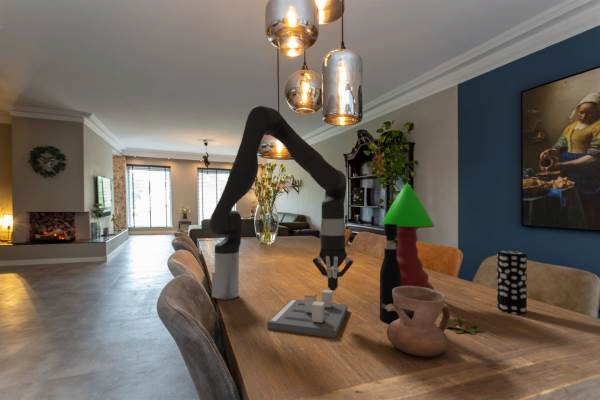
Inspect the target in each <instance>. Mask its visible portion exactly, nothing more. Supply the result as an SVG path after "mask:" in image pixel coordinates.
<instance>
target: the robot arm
mask: <svg viewBox="0 0 600 400" xmlns="http://www.w3.org/2000/svg"><path fill="white" fill-rule="evenodd" d="M264 136H271V137H272V138H274V139H276V140H278V141H279V142H280V143H282V145H283V146H284V147H285V149H286V150H287V152H288V153H289V156H290V157H291V158H292V159H293V161H295V163H296V164H298V166H300V167H301V168H302V169H303V170H304V171H305V172H307V173H308V174H309V176H310V177H311V178H312V179H313V180H314V182H315V183H316V184H317V185H319V187H321V188H322V189H324V191H325V193H324V200H323V201H322V203H321V220H320V221H321V222H320V251H319V253H318V256H317V257H314V258H313V259H312V263H313V264H314V265H315V267H316V268H317V269H318V271H319V272H320V273H321V275H322V276H325V277H326V278H327V287H328V289H329V290H333V291H336V289H338V287H339V278H341V277H343V276H344V275H345V273H346V272H347V271H348V270H349V269H350V267H351V266H352V265H353V264H354V260H353V259H351V258H349V257H348V253H347V251H346V232H347V231H346V223H345V200H346V194H347V178H346V175H345V174H344V172H343V171H341V170H339V169H337V168H335V167H334V166H332V165H331V164H330V163H329V162H327V161H326V159H325V158H324V157H323V155H322V154H321V153H320V152H318V151H317V150H316V149H315V148H314V147H312V146H311V145H310V144H309V143H308V142H307V141H306V140H304V139H303V138H302V137H301V136H300V135H299V134H298V133H297V132H296V131H295V130H294V128H293V127H291V125H290V124H289V123H288V122H287V121H286V119H285V117H283V115H282V114H281V113H280V112H279V111H278V110H277V109H275V108H273V107H268V106H264V105H256V106H254V107H252V108H251V110H250V111H249V113H248V115H247V118H246V122H245V125H244V129H243V133H242V137H241V141H240V144H239V147H238V149H237V153H236V157H235V160H234V161H233V164H232V166H231V169H230V171H229V175H228V177H227V180H226V183H225V186H224V188H223V191H222V193H221V196H220V198H219V200H218V202H217V204H216V206H215V208H214V210H213V212H212V214H211V216H210V222H209V228H210V229H209V230H210V231H211V233H212V234H214V235H219V236H224V237H225V238H224V239H222V240H221V241H220V242H218V243H216V244H215V246H214V271H212V273H211V275H212V276H211V298H214V299H217V300H225V301H226V300H232V299H233V300H234V299H236V298H238V297H239V288H240V286H239V285H240V280H239V279H240V276H239V275H240V246H241V243H242V228H243V226H242V225H243V222H242V216H241V214H240V212H238V211H236V210H233V208H234V207H235V205H236V204H237V203H238V202H239V201H240V200H241V199H242V198H243V197H245V196H246V194H247V193H248V192H250V190H252V188H253V186H254V184H255V181H256V178H257V176H258V173H259V158H258V155H259V153H258V152H259V149H260V145H261V144H262V143H261V142H262V140H263V138H264ZM344 261H345V262H344ZM322 262H323V263H322ZM343 263H344V265H345V266H344V267H343V268H342V269H341V270H340V266H341V265H342V264H343ZM323 264H324V265H325V266H326V267H325V266H324V265H323ZM339 270H340V271H339Z"/></svg>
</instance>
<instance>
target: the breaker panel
mask: <svg viewBox="0 0 600 400" xmlns="http://www.w3.org/2000/svg"><path fill="white" fill-rule="evenodd" d="M316 302H318V301H317V300H316ZM347 312H348V304H345V303H333V305H332V307H331V308H330V307H324V320H323V322H322V323H321V322H313V321H312V313H309V312H305V299H298V298H297V299H295V298H291V299H290V300H289V301H288V302H286V303H285V305H284V306H282V308H280V309H279V310H278V311H277V312H276V313H275V314H274V315H272V317H271V318H270V319H269V320H268V321H267V323H266V324H267V329H269V330H276V331H282V332H289V333H296V334H303V335H311V336H316V337H318V336H319V337H323V338H324V337H326V338H332V339H336V338H337V337H338V334H339V331H340V329H341V327H342V325H343V322H344V319H345V318H346V315H347Z"/></svg>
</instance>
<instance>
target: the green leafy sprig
mask: <svg viewBox="0 0 600 400" xmlns="http://www.w3.org/2000/svg"><path fill="white" fill-rule="evenodd" d="M458 312H459V311H457V312H454V313H453V315H451V316H452V318H450V320H449V323H448V325H447V327H446V329H447V328H452V330H453V331H454V332H455V333H456V334H461V333H466V332H468V333H470V334H472V335H474V336H476V332H483V333H485V330H482V329H481V328H479V327H478V325H477V324H475V323H473V322H470V321H468V319H467V318H468V317H469V316H470V314H469V315H468V314H467V315H466V313H464V314H462V315H459V313H458ZM438 322H439V323H441V320H440V321H439V320H438ZM457 326H458V327H457ZM476 326H477V327H476ZM462 327H464V328H462ZM458 328H459V329H460V330H458Z"/></svg>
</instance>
